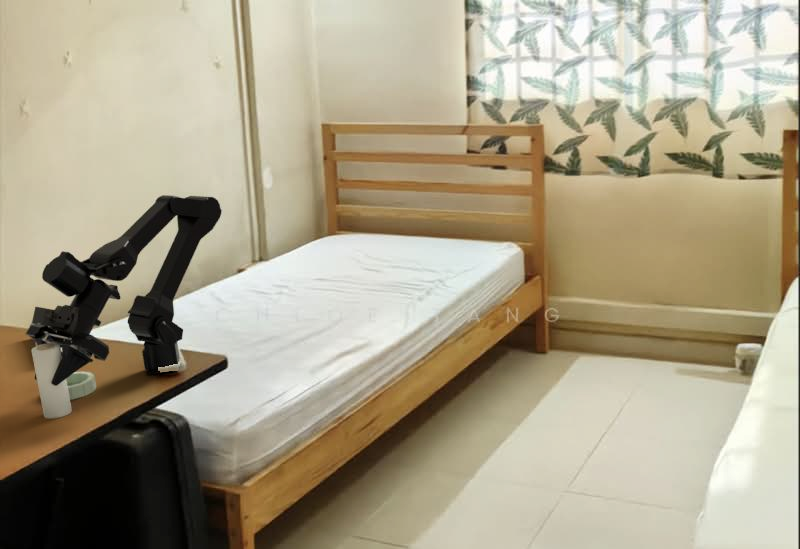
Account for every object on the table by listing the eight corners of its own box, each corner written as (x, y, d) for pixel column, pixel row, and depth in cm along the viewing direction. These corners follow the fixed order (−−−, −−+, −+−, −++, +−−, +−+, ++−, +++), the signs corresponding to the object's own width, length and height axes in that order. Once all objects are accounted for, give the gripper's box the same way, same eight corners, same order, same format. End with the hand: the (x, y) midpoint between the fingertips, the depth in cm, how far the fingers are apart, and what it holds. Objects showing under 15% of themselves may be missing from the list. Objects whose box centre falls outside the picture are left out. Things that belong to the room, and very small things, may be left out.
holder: (99, 381, 200) (97, 369, 199) (90, 397, 191) (87, 385, 190) (54, 386, 199) (52, 374, 198) (42, 402, 190) (40, 390, 190)
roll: (74, 406, 187) (62, 340, 184) (68, 416, 182) (55, 349, 179) (48, 409, 187) (35, 343, 183) (40, 419, 182) (27, 352, 178)
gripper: (25, 283, 187) (-17, 356, 181) (84, 292, 176) (41, 371, 170) (68, 311, 195) (29, 381, 189) (127, 322, 184) (87, 397, 178)
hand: (45, 382), depth 182 cm, fingers closed on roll, 5 cm apart
